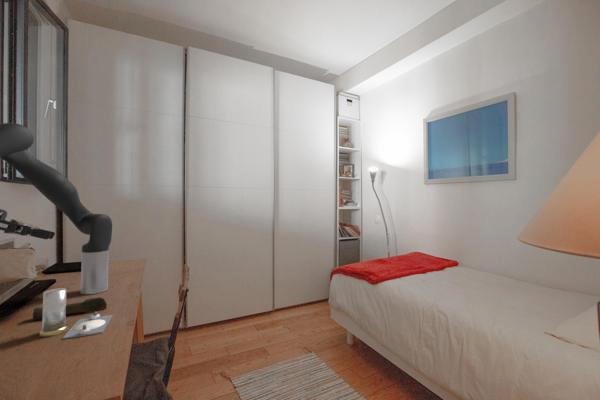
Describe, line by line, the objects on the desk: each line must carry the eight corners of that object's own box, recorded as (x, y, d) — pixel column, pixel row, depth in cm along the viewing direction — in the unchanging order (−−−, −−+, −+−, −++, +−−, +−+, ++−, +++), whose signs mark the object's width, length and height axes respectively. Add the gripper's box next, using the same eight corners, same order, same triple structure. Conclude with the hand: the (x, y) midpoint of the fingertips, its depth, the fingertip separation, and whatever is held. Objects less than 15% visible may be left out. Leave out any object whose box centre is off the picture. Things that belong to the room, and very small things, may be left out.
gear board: (78, 320, 84) (79, 312, 85) (112, 315, 88) (112, 308, 88) (62, 339, 73) (62, 330, 73) (102, 333, 76) (102, 324, 76)
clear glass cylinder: (45, 329, 78) (46, 288, 79) (70, 325, 81) (71, 286, 81) (35, 338, 73) (36, 295, 73) (62, 334, 75) (64, 292, 76)
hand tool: (30, 323, 83) (31, 308, 83) (36, 318, 87) (36, 304, 87) (104, 312, 92) (104, 299, 92) (106, 308, 95) (107, 295, 95)
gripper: (-26, 202, 66) (55, 223, 75) (-8, 207, 77) (61, 224, 86) (-45, 231, 64) (41, 249, 72) (-24, 231, 75) (48, 247, 84)
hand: (51, 236), depth 79 cm, fingers open, 8 cm apart
